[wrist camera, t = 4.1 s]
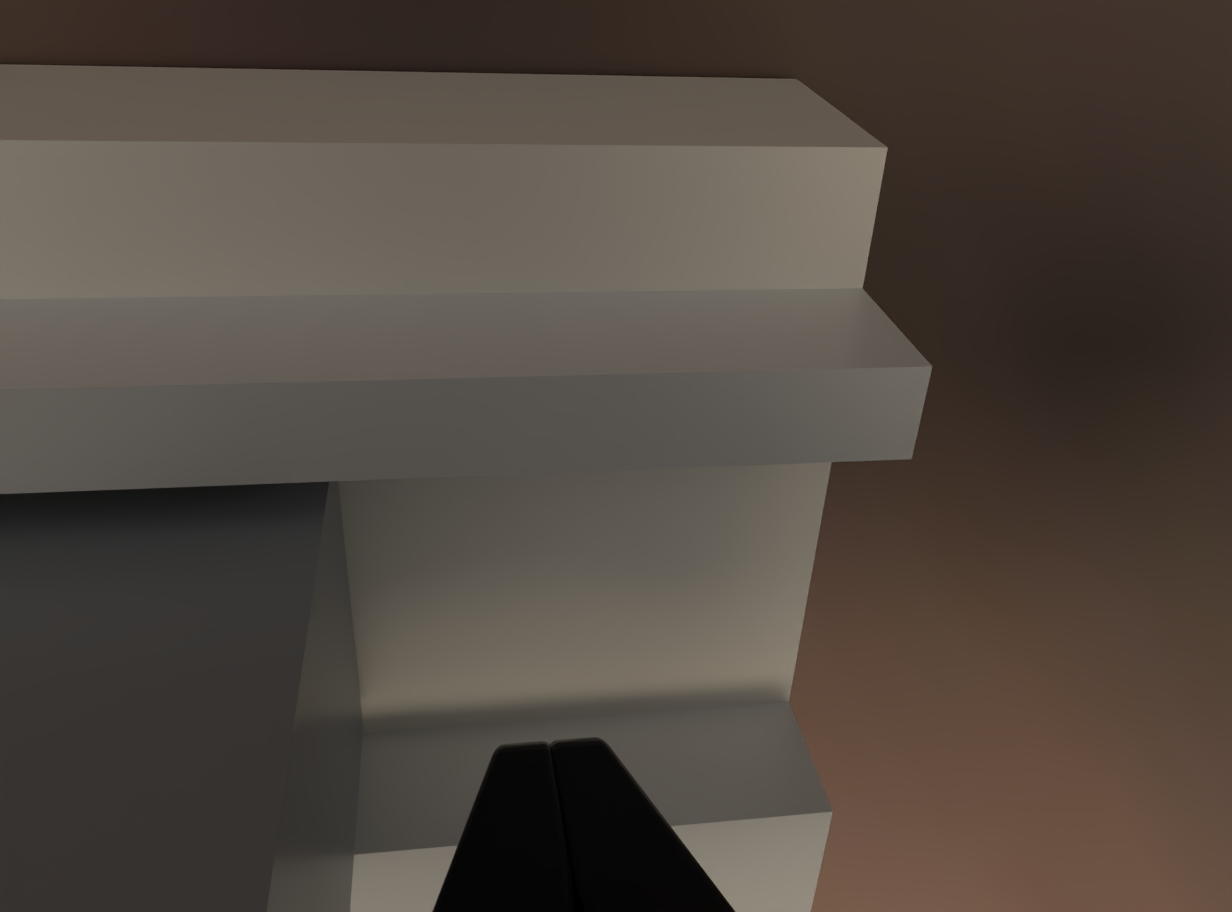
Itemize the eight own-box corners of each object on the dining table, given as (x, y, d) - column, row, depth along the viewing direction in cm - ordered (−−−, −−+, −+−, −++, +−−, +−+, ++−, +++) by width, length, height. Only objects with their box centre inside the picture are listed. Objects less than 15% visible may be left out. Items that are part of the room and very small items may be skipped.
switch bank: (796, 79, 11) (967, 207, 7) (678, 983, 18) (734, 1249, 15) (-1210, 41, 8) (-2345, 210, 5) (-371, 1102, 16) (-586, 1452, 13)
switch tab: (334, 445, 9) (249, 1020, 5) (363, 725, 10) (321, 1338, 6) (-200, 462, 8) (-843, 1142, 4) (-82, 758, 10) (-453, 1459, 6)
